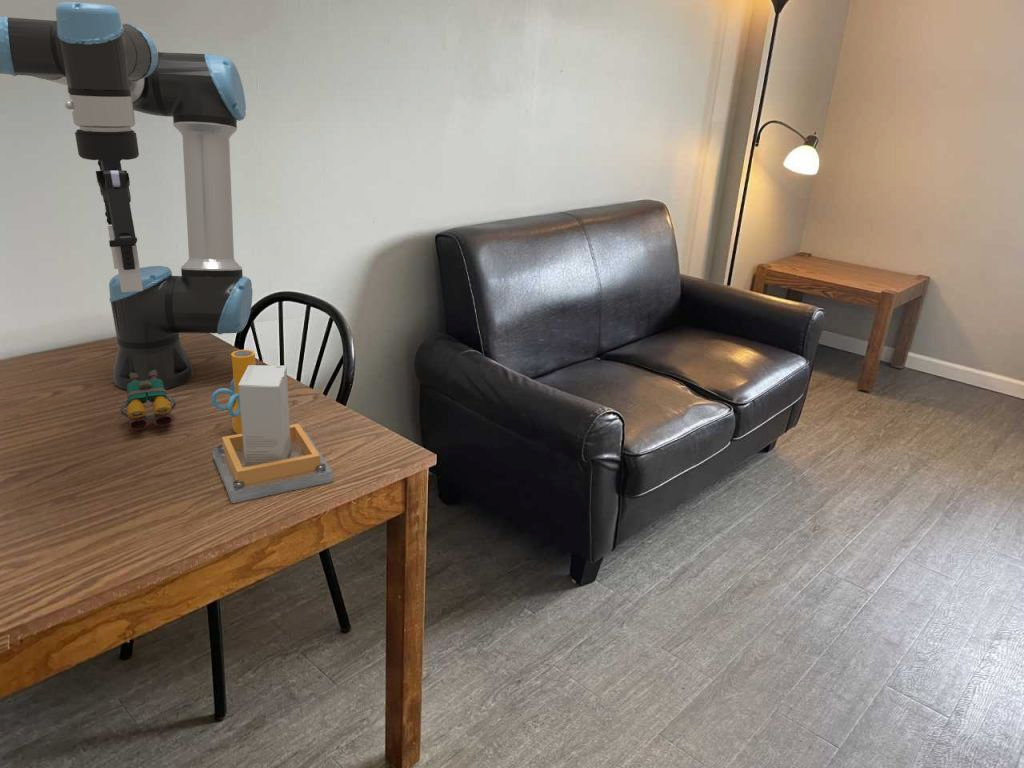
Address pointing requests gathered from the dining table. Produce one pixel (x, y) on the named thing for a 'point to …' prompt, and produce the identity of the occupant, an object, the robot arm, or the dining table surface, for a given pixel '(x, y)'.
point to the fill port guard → (272, 468)
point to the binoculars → (140, 395)
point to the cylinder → (235, 386)
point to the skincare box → (264, 414)
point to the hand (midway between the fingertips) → (128, 279)
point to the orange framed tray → (272, 486)
